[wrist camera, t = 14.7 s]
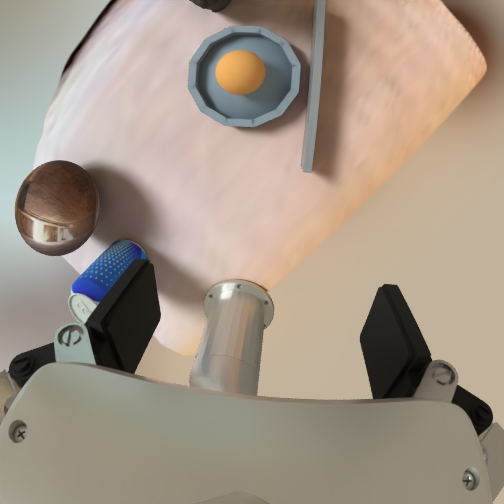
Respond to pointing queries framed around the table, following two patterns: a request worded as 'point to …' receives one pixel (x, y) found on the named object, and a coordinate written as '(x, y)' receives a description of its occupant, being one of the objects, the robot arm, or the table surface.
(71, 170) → the wooden sphere
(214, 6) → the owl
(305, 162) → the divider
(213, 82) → the bowl
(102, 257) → the beer can
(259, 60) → the ball
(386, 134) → the table surface
